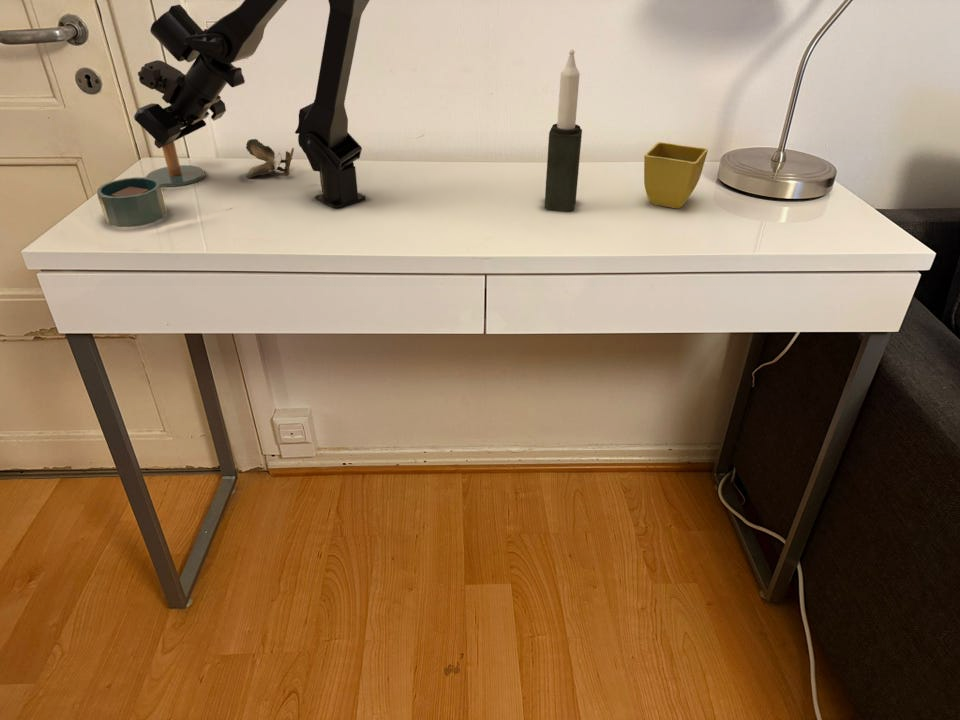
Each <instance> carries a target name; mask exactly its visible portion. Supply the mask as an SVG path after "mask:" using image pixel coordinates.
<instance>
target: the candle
mask: <svg viewBox="0 0 960 720" xmlns="http://www.w3.org/2000/svg"><path fill="white" fill-rule="evenodd" d="M568 54H569V55H568V58H567V61H566V63H565V66H564V67H563V69H562V70H561V72H560V77H559V78H560V79H559V93H558V105H557V106H558V107H557V108H558V109H557V121H556V123H554V124H553V125H552V126H551V127H550V130H549V132H548V144H547V146H548V147H547V158H546V159H547V161H546V175H545V191H544V209H545V210H546V211H553V212H562V213H563V212H565V213H570V212H574V211H575V206H576V203H577V193H578V192H577V191H578V183H579V181H578V180H579V170H580V157H581V147H582V138H583V137H582V135H583V129H582V128H581V126H580V125H579V124H576V123H577V110H578V97H579V87H580V84H579V83H580V76H581V75H580V71H579V69H578V67H577V65H576V64H577V63H576V60H575V50H574V49H573V48H572V49H569V51H568Z"/></svg>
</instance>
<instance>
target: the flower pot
mask: <svg viewBox="0 0 960 720" xmlns="http://www.w3.org/2000/svg"><path fill="white" fill-rule="evenodd" d="M708 152H709V149H708V148H706V147H705V148H704V147H698V146H690V145H681V144H677V143H676V144H675V143H671V142H661V141H659V142H656V143H655V144H654V145H653V146H652V147H651V148H650V149H649V150H648V151H647V152H646V153H645V154H644V158H643V162H644V163H643V184H644V188H645V193H646V196H647V198H648V200H649V202H650V204H652V205H655V206H660V207H661V206H662V207H666V208H667V207H668V208H673V209H681V208H682V207H683V206H684V204H685V203H686V202H687V201H688V199H689V198H690V196H691V195H692V193H693V192H694V190H695V189H696V187H697V185H698V183H699V181H700V178H701V175H702V173H703V169H704V166H705V162H706V159H707V155H708Z"/></svg>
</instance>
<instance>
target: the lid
mask: <svg viewBox="0 0 960 720" xmlns="http://www.w3.org/2000/svg"><path fill="white" fill-rule="evenodd" d="M161 149H162V152H163V157H164V161H165V165H166V166H165V167H160V168H158V169H154V170H153V171H150V172H149V173H147V175H146V177H145V178H152V179H156V180H157V181H159V182H160V184H161V188H162V187H163V188H168V187H169V188H171V187H180V186H181V187H182V186H186V185H190V184H194V183H196V182H198V181H201V180H202V179H203V178H204V177H205V175H206V174H205V171H204V169H203V168H202V167H200V166H195V165H187V164H184V165H183V164H182V165H181V164H180V160H179V155H178V152H177V148H176V143H175V141H173V142H171V143H169V144H167V145H165V146H164V147H162V148H161Z"/></svg>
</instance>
